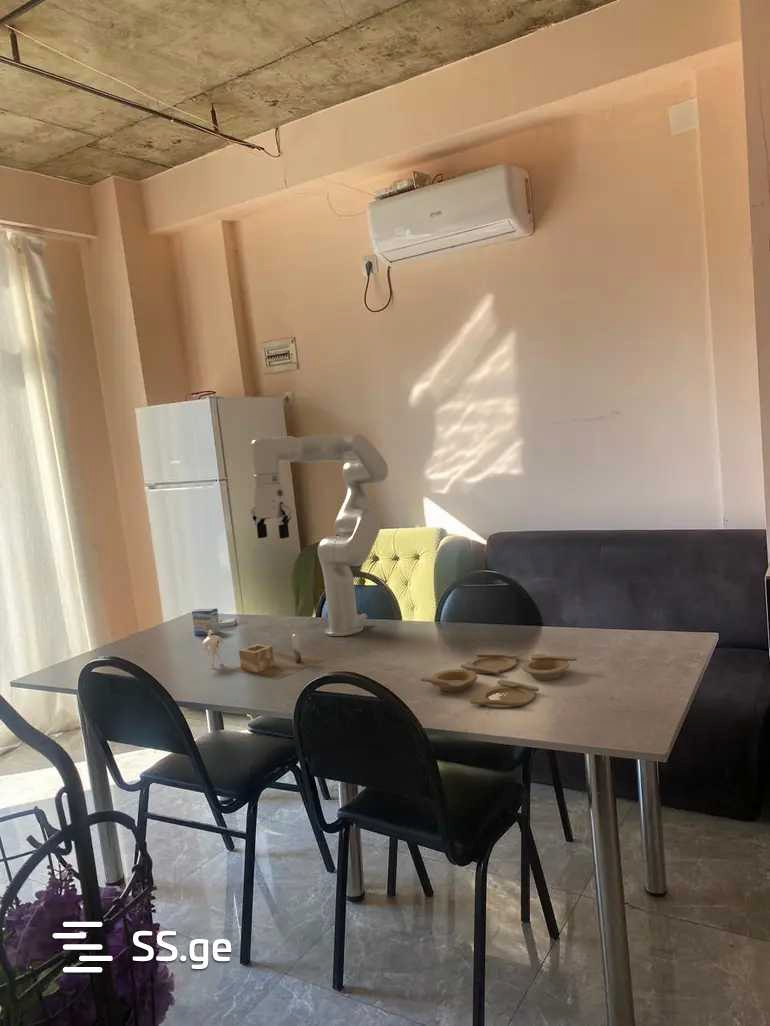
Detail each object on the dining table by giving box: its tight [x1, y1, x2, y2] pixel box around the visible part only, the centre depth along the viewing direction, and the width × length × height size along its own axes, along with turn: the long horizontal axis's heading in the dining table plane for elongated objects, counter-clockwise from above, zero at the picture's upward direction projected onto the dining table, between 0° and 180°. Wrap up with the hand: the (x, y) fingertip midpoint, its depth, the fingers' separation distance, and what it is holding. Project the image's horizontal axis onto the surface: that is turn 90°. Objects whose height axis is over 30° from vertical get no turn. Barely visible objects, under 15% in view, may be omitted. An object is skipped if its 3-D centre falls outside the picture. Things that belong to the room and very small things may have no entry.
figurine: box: [201, 630, 224, 669], centre depth 217 cm, size 7×4×12 cm, turn 138°
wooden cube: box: [238, 643, 275, 672], centre depth 211 cm, size 7×7×6 cm
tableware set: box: [420, 652, 578, 709], centre depth 184 cm, size 35×29×4 cm
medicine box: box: [191, 608, 221, 636], centre depth 264 cm, size 8×4×9 cm, turn 73°
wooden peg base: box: [230, 633, 326, 680], centre depth 212 cm, size 18×20×10 cm
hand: (273, 537), depth 224 cm, fingers open, 9 cm apart
